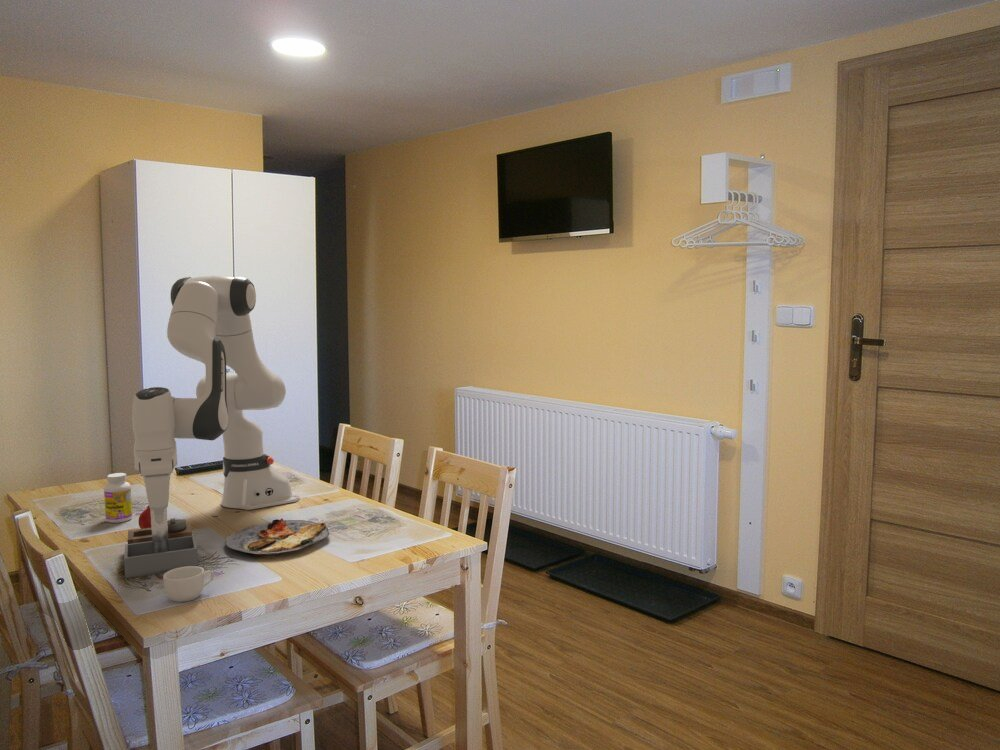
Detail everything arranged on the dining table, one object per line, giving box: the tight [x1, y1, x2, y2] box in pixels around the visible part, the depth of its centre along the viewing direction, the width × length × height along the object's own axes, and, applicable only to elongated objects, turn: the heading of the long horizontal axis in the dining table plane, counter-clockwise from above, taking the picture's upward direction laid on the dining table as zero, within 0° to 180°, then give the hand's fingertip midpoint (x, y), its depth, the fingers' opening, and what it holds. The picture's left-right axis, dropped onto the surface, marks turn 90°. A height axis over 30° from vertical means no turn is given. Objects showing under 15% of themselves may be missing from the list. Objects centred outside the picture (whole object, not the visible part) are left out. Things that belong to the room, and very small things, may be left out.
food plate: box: [224, 518, 330, 556], centre depth 190 cm, size 25×23×4 cm
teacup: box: [162, 565, 215, 603], centre depth 156 cm, size 10×8×5 cm
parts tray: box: [123, 535, 199, 579], centre depth 174 cm, size 15×10×4 cm
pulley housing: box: [127, 518, 193, 544], centre depth 184 cm, size 14×8×8 cm, turn 115°
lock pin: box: [150, 507, 169, 554], centre depth 173 cm, size 3×3×12 cm
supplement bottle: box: [103, 472, 133, 524], centre depth 209 cm, size 7×7×13 cm
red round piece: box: [138, 504, 151, 529], centre depth 196 cm, size 6×6×8 cm
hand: (159, 518), depth 173 cm, fingers closed on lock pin, 3 cm apart
